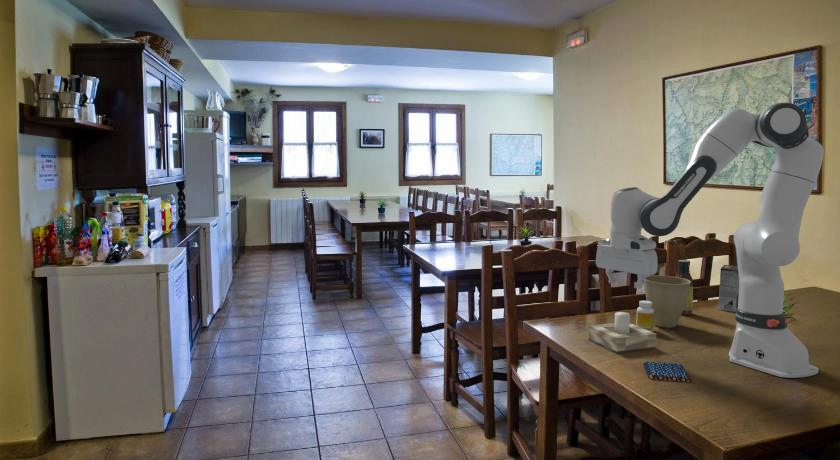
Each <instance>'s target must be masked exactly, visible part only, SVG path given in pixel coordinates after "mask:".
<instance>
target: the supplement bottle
mask: <svg viewBox="0 0 840 460" xmlns="http://www.w3.org/2000/svg"><path fill="white" fill-rule="evenodd" d="M638 302H639V303H638V304H639V306H638V307H637V309H636V322H635V325H636V326H638V327H641V328H643V329H646V330H648V331H651V332H653V331H654V324H653V322H654V310H653V309H652V308H651V307H652V302H650V301H647V300H639V301H638Z"/></svg>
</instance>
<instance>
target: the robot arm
mask: <svg viewBox="0 0 840 460" xmlns="http://www.w3.org/2000/svg"><path fill="white" fill-rule="evenodd" d="M808 127H809V126H808V123H807V118H806V114H805V112H804V109H802V108H801V107H800V106H799V105H797V104H795V103H792V102H778V103H775V104H772V105H771V106H769V107H767V108H766V109H764V110H763V111H761V112H760V113H757V114H753V113H751V112H749V110H746V109H743V108H740V107H739V108H738V107H734V108H733V107H732V108H730V109H728V110H726V111H725V112H724V113H723V114H721V115H720V116H719V117H718V118H717V119H716V120H715V121H714V122H712V123H711V124H710V125H709V126H708V127H707V128H706V130H704V132H703V133H702V134H701V135H700V136H699V138H698V139H697V140H696V142H695V143H694V145H693V146H692V148H691V150H690V151H689V154H688V162H687V164H686V167H685V169H684V171H683V173H682V174H681V176H680V177H679V178H678V179H677V180H676V182H674V184H673V185H672V186H671V187H670V188H669V190H667V192H666V193H665V194H664V195H662V196H661V197H657V196H654V195H652V194H650V193H647V192H645V191H643V190H641V189H640V188H639V187H635V186H633V187H626V188H622V189H618V190H616V191H615V192H614V193H613V194H612V198H611V202H610V221H611V227H610V230H609V231H610V234H609V235H610V236H609V238H601V239H599V240H598V241H597V249H596V253H595V254H596V257H595V265H596V267H597V268H598V269H599V268H601V269H605V274H606V276H607V277H608V284H612V285H614V284H617V281H616V280H617V277H615V276H614V274H613V273H614V271H618V272H622V273H623V272H624V273H629V274H635V275H637V281H635V282H634V286H633V288H634V289H639V290H641V289H642V287H643V283H644V279H645V278H646V276H656V273H657V272H658V266H659V264H658V255H657V252H656V250H655V249H656V247H657V242H656V241H654V240H652V239H650V238H648V237H646V236H644V235H643V234H642V229H643V230H644V231H645V232H646V233H648V234H649V235H651V236H654V237H665V236H668V235H670V234H671V233H673V232H674V231H675V230H676V229H677V227H678V225H679V223H680V220H681V216H682V214H683V211H684V210H685V208H686V207H687V206H688V205H689V204H690V202H691V201H692V200H693V199H694V198H695V197H696V195H697V194H698V193H699V191H700V190H701V189H703V187H704V186H705V185H706V184H707V183H708V182H709V181H710V180H711V179H713V178H714V177H715V176H716V175H717V174H719V173H720V172H721V171H723V170H724V169H725V168H726V167H727V166H728V165H730V163H732V162H733V161H734V159H736V158H737V156H738V155H739V154H740V153H741V152H742V150H743V149H744V148H745V147H747V146H748V145H749V144H751V143H754V144H757V145H760V146H763V147H767V148H774V150H775V153H776V154H775V160H774V163H773V165H772V168H771V170H770V172H769V175H768V177H767V180H766V182H765V184H764V186H763V189H762V192H761V194H760V196H759V204H760V205H759V210H758V211H759V212H758V217H757V221H750V222H747V223H744V224H742V225H740V226H739V227H738V228H737V229H736V230H735V231H734V234H733V243H734V246H735V252H736V264H737V266H738V271H739V299H738V307H737V308H736V312H735V319H734V320H735V321H736V325H735V331H734V336H733V340H732V343H731V346H730V349H729V352H728V356H729V362H731V363H733V364H737V365H740V366H744V367H746V368H749V369H753V370H757V371H760V372H763V373H767V374H768V375H769V374H770V375H773V376H776V377H780V378H789V379H790V378H794V379H796V378H806V377H811V376H815V375H817V374H819V367H817V366H815V365H813V364H810V357H809V356H810V355H809V351H808V348H807V346H805V344H804V343H802V342H801V340H800V339H799V338H797V337H796V336H795V335H794V333H793V332H792V331H791V330H790V329H789V327H788V324H791V320H792V318H786V315H785V313H784V309H783V308H784V295H785V284H784V281H783V278H782V273H781V268H780V267H785V266H788V265H790V264H792V263H793V262H795V260H796V259H797V258H798V257H799V254H800V253H801V252H800V250H801V246H800V245H801V244H800V241H799V238H800V231H801V225H802V219H803V216H804V211H805V208H806V205H807V203H808V201H809V198H810V197H811V194H812V191H813V189H814V187H815V184H816V182H817V179H818V177H819V174H820V170H821V168H822V163H823V160H824V156H825V155H824V154H825V150H824V146H823V145H822V144H821V143H820V142H819V141H817V140H815V139H813V138H809V135H810V132H809V128H808Z"/></svg>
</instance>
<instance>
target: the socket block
mask: <svg viewBox="0 0 840 460" xmlns="http://www.w3.org/2000/svg"><path fill="white" fill-rule="evenodd" d="M588 327H589V328H588V340H589V341H590V342H593V343H595V344H597V345H599V346H600V347H603V348H604V349H607V350H609V351H611V352H613V353H615V354H624V353H631V352H638V351H640V352H641V351H648V350H655V349H656V348H657V346H656V345H657V333H655V332H653V331H652V332H651V331H648V330H646V329H643V328H641V327H638V326H636V324H633V323H630V328H629V333H628V334H620V335H619V334H617V333H615V332H614V327H615V322H613V323H603V324H594V325H589V326H588Z"/></svg>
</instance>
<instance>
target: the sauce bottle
mask: <svg viewBox="0 0 840 460" xmlns="http://www.w3.org/2000/svg"><path fill="white" fill-rule="evenodd" d="M677 264H678V270H677V272H678V273H676V276H675V277H679V278H684V279H687V280H689V281H691V283H690V288H689V292H688V296H687V300H686V303H685V306H684V309H683V311H682V314H681V315H683V316H690V315H692V314H693V309H694V307H693V306H694V284H693V283H694V279H693V277H692V275H691V273H690V272H691V271H690V265H691V261H690V260H687V259H679V260H678V261H677Z"/></svg>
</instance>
